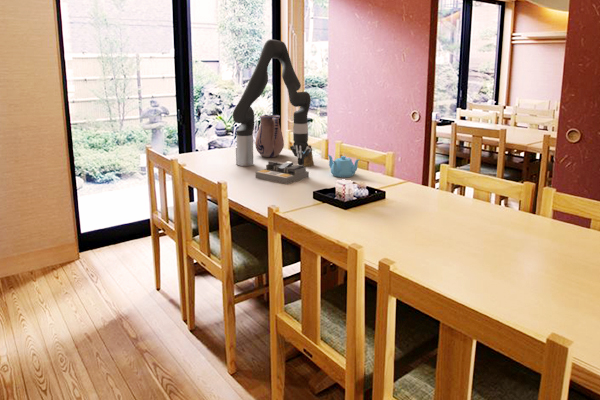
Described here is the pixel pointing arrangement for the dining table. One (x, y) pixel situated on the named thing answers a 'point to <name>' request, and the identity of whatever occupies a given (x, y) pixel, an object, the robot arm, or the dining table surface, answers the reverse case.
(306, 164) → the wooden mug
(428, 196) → the dining table surface
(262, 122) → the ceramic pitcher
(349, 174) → the teapot
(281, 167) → the rocker
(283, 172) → the switch unit
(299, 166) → the rocker
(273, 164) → the rocker
